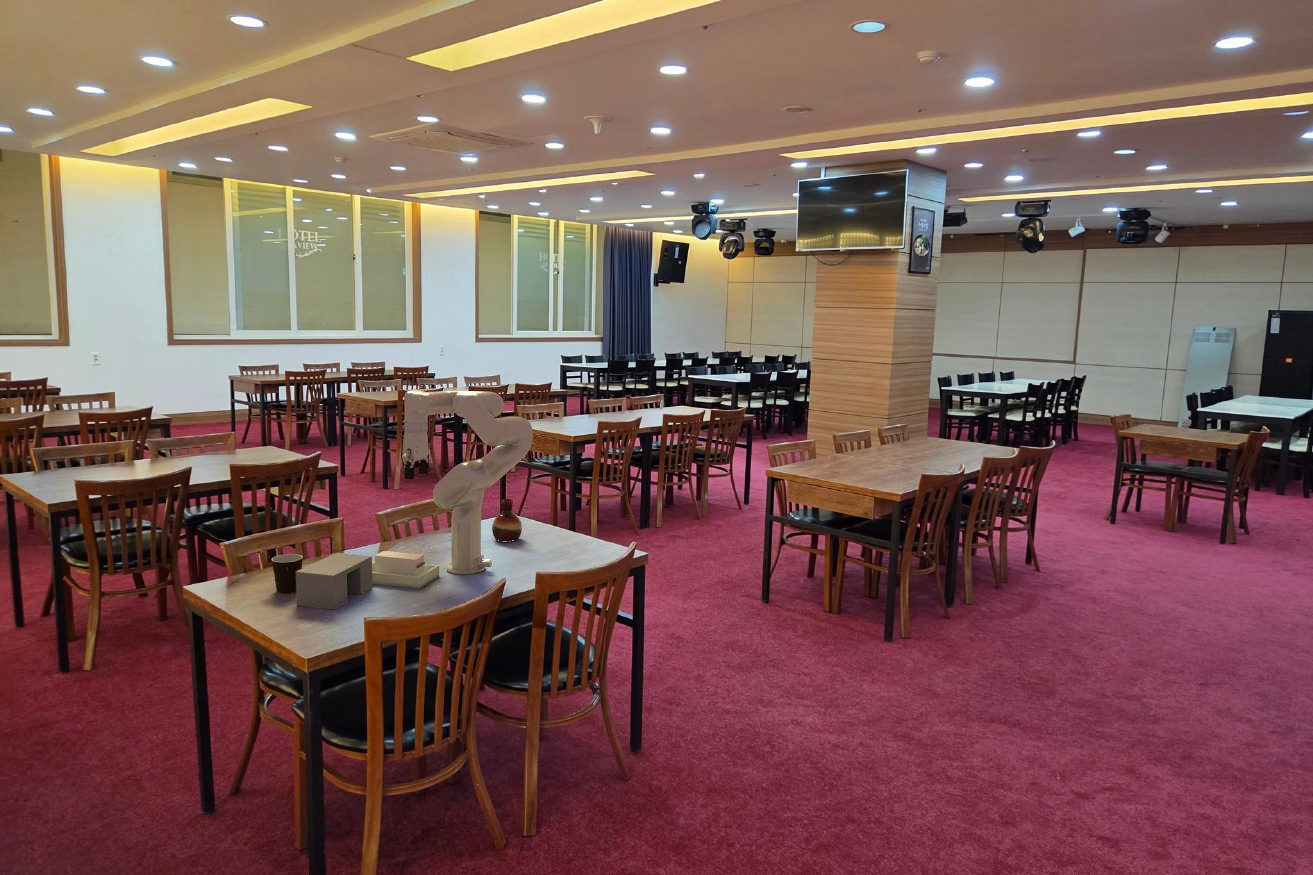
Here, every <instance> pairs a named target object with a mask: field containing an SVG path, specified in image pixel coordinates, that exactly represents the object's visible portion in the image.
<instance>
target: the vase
mask: <svg viewBox="0 0 1313 875" xmlns="http://www.w3.org/2000/svg"><path fill="white" fill-rule="evenodd" d="M513 502H514V501H513V499H512V498H503V499H502V500H501V510H502V511H501V513H499V514H498V515H497V516H496V517H495V518H494V520H493V523H492V525H491V531H492V536H493V537H494V539H495V540H496V541H497V540H499V541H512V540H517V539H518V538H520V537H521V534H522V529H523V525H522V522H521V519H520V518H519V517H518V515H516V514H515V513H513ZM518 540H519V539H518ZM518 540H517V541H518ZM499 541H498V542H499Z"/></svg>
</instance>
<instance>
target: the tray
mask: <svg viewBox="0 0 1313 875" xmlns="http://www.w3.org/2000/svg"><path fill="white" fill-rule="evenodd" d="M439 577H440V565H437V564H427V563H425V564H424V573H423V574H421V575H420V576H409V575H400V574H390V573H381V572H375V560H372V583H373V584H372V585H374V584H375V585H383V586H392V587H400V588H408V589H409V588H410V589H417V590H418V589H419V590H420V589H422V588H423V587H424V586H426V585H428V584H429V583H431V582H432V581H434V580H435V579H438V578H439Z"/></svg>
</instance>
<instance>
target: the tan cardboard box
mask: <svg viewBox="0 0 1313 875" xmlns="http://www.w3.org/2000/svg"><path fill="white" fill-rule="evenodd" d="M374 561H375V572H381V573H390V574H400V575H409V576H420V575H421V574H423V573H424V564H426V562H425V555H424V554H418V553H409V552H408V553H407V552H397V551H389V550H383V551H381V552H379V553H377V554H375V555H374Z"/></svg>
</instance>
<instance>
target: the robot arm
mask: <svg viewBox="0 0 1313 875" xmlns="http://www.w3.org/2000/svg"><path fill="white" fill-rule="evenodd" d="M504 408H505V402H504V399H503V397H502V396H501V395H499V393H496V392H493V391H479V390H476V391H475V390H473V391H471V390H470V391H469V390H461V391H458V390H454V391H453V390H444V391H443V390H441V391H428V392H426V391H424V390H408V391H406V392H405V393H404V432H403V433H404V435H403V442H402V455H401V458H402V464H403V468H404V479H405V480H414V479H415V467H414V464H415V462H418V474H420V475H428V474H429V461H430V460H429V457H430V451H431V449H430V447H429V439H428V438H429V437H428V426H429V425H428V423H429V422H428V420H429V417H428V416H431V415H440V414H456V415H457V416H459V417H460V418H464V420H465V421H466V423H467V425H469V426H470V427H471V429H472V430H473V431H474V432H475V433H476V435H477V436H478V437H479V439H480V440H481V441H482V442H483V443H484V444H486V445H487V446H489V447H493V448H492V449H491V450H490V451H489V452H488V453H487V454H485V455H484V456H483V457H481V458H479V459H474V460H469V461H464V462H461V463H459V464H457V465H456V466H454V467H453V468H452V469H451V470H449V471H448V472H447V473H446V474H445V475H444V476H443V477H442V478H441V479H440V480H439V481H438V482H436V484H435V486H434V488H433V491H432V499H433V502H434V504H435V505H436V506H437V507H439V508H440V509H443V510H452V509H453V511H452V514H451V529H450V530H451V534H450V535H451V562H450V563H448V564H447V565H446V571H447V572H449V573H451V574H456V575H474V574H478V572H479V573H481V572H483V571H484V569H485V570H486V568H492V564H493V563H492V560H491V559H485V557H484V556H485V555H484V554H482V551H481V550H482V506H483V501H484V496H485V489H488V488H491V487H492V486H493V485H495V484H496V483H497V482H498V481H500V479H501V478H502V477H503V476H505V475H506V474H507V473H508V472H509V471H510V470H511V469H512V468H514V467H515V466H516V465H517V464H518V463H520V462H521V461H522V459H523V460H524V457H525V456H527V455H528V453H529V450H530V449H531V446H532V443H533V439H534V430H533V427H532V424H531V422H529V420H528V419H526V418H524V417H521V416H506V417H505V416H504V417H498V416H500V415H501V413H502V412H503V411H504ZM496 417H497V418H496Z"/></svg>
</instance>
